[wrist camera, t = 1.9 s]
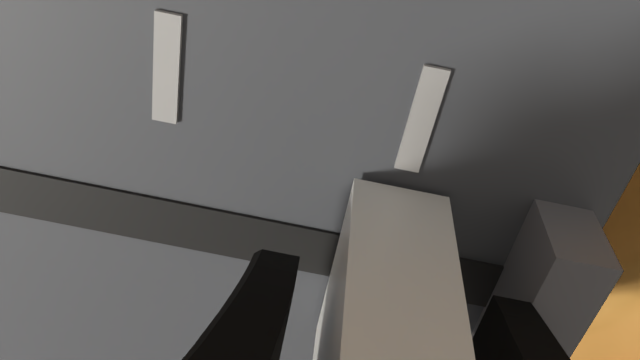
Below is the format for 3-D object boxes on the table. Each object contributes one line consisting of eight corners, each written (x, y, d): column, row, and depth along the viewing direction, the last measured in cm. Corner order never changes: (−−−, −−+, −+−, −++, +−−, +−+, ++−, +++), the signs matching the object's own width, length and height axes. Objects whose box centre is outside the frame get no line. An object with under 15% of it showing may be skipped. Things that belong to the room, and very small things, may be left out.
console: (434, 447, 17) (444, 582, 14) (-122, 340, 17) (-230, 457, 14) (756, -211, 8) (962, -214, 5) (-404, -462, 8) (-867, -614, 5)
